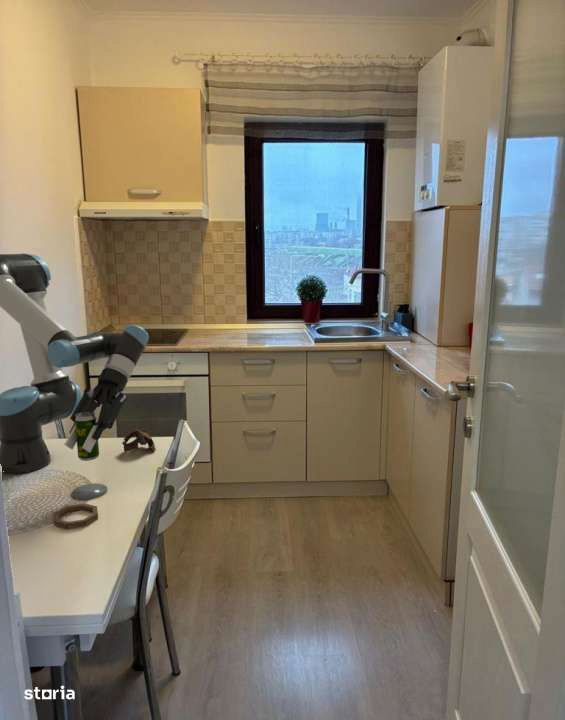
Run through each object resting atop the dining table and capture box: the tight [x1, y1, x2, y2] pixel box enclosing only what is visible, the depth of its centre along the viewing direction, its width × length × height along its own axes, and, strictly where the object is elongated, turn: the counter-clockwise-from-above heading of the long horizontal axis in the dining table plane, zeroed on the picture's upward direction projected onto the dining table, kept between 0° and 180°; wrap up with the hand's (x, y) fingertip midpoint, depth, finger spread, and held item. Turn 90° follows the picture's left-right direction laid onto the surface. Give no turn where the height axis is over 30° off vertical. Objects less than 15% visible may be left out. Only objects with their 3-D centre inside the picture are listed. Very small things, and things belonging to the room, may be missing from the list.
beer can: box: [75, 411, 100, 462], centre depth 146 cm, size 5×5×12 cm
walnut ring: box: [53, 503, 99, 531], centre depth 134 cm, size 10×10×2 cm
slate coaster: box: [71, 482, 108, 500], centre depth 149 cm, size 9×9×1 cm
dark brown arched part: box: [121, 428, 157, 453], centre depth 180 cm, size 12×10×8 cm
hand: (77, 448), depth 143 cm, fingers closed on beer can, 5 cm apart
